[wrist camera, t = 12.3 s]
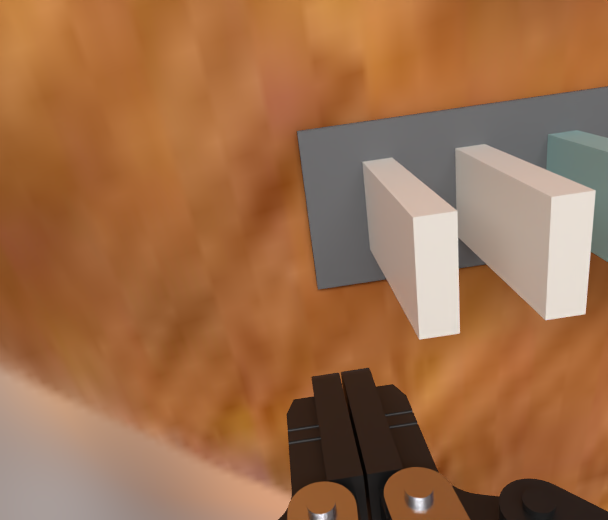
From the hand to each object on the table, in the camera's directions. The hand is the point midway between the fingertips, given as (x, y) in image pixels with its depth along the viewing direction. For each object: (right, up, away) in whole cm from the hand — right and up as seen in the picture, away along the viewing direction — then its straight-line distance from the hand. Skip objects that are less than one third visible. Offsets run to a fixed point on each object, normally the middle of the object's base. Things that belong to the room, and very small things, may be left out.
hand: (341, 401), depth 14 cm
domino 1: (+3, +7, +15) cm, 17 cm away
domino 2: (+8, +7, +15) cm, 19 cm away
